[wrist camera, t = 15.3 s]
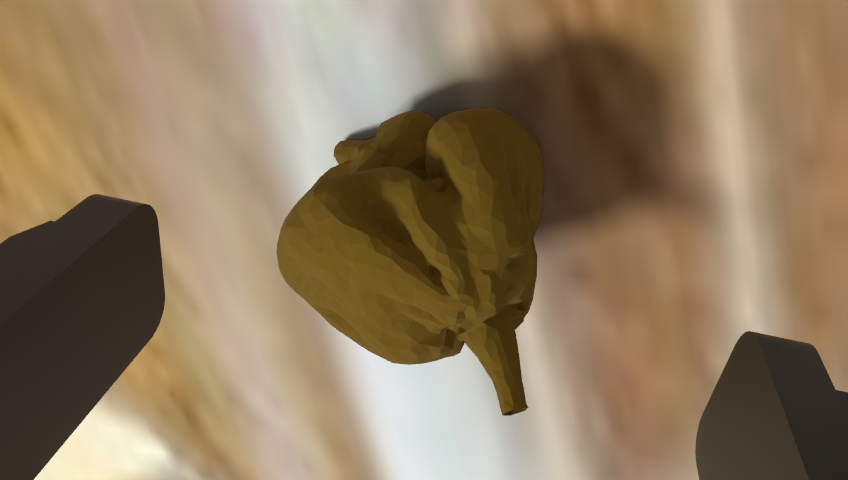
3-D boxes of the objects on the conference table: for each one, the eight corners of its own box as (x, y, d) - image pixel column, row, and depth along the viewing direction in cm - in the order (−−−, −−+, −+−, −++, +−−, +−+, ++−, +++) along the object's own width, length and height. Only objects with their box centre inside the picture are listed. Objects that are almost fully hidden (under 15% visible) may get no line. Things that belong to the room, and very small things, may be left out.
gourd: (552, 273, 46) (548, 423, 34) (349, 279, 49) (280, 418, 37) (538, 69, 40) (526, 166, 28) (305, 92, 43) (204, 187, 31)
